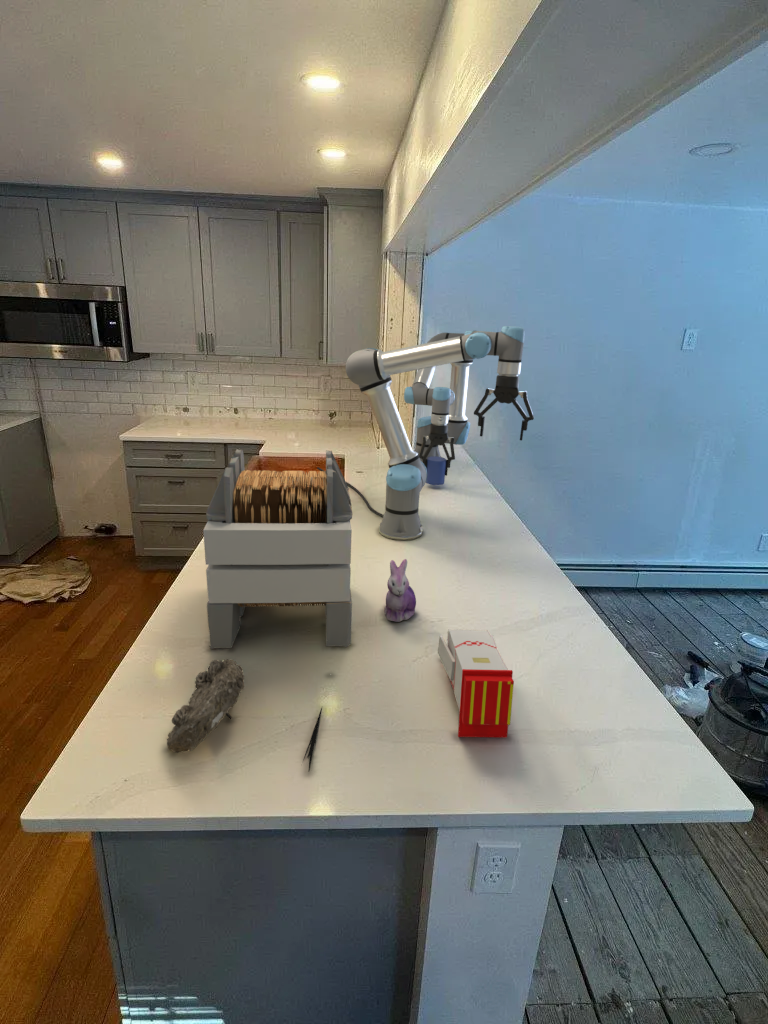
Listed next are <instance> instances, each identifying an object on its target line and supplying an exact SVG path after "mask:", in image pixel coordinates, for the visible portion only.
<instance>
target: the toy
mask: <svg viewBox="0 0 768 1024" xmlns="http://www.w3.org/2000/svg"><path fill="white" fill-rule="evenodd" d="M446 640H447V643H446V641H445V639H444V636H443V635H442V634H439V637H438V646H437V656H438V657H439V659H440V661H441V663H442V666H443V668H444V670H445V672H446V674H447V677H448V679H449V681H450V684H451V687H452V690H453V693H454V697H455V701H456V705H457V708H458V711H459V714H458V715H459V716H458V730H457V731H458V732H457V737H458V738H508V731H509V726H510V725H511V717H512V707H513V697H514V696H513V695H514V684H515V680H514V679H513V673H514V671H513V670H512V669H508V667H507V665H506V662H505V661H504V659H503V658H502V655H501V653H500V651H499V649H498V647H497V643H496V639H495V637H494V635H493V634H491V632H490V631H489V629H467V628H466V629H465V628H463V629H461V628H460V629H459V628H448V630H447V639H446Z"/></svg>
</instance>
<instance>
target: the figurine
mask: <svg viewBox="0 0 768 1024" xmlns="http://www.w3.org/2000/svg"><path fill="white" fill-rule="evenodd" d="M407 567H408V559H406V558H404V559H403V560H402V561H401V563H400V565H399V566H398V565H397V563H396V562H395V561H394V560H393V559H391V560H390V561H389V570H390V576H389V578H388V579H387V589H388V591H387V592H386V594H385V595H386V596H385V607H384V615H385V616H386V620H387V621H391V622H395V623H400V622H402V621H406V620H409V619H410V618H411V617H413V616H414V615H415V610H416V606H417V597H416V593H415V591H414V590H413V587H411V586H410V582H409V579H408V577H407V574H406V571H407Z"/></svg>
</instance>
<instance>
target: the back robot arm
mask: <svg viewBox="0 0 768 1024" xmlns="http://www.w3.org/2000/svg"><path fill="white" fill-rule="evenodd" d="M464 334H465V333H463V332H459V333H458V332H441V333H440V332H439V333H438V334H435V335H434V336H433V337H431V338H430V339H429V340H428V341H427V342H426V343H430V342H435V341H439V340H444V339H449V338H454V337H459V336H464ZM474 360H476V359H470V360H464V361H459V362H454V363H449V364H450V365H451V368H450V382H449V387H448V386H447V387H446V386H435V387H434V388H430V386H431V383H432V381H433V380H432V379H433V378H434V374H435V371H436V369H437V366H434V367H429V368H424V369H419V370H417V372H416V375H415V377H414V380H413V382H412V385H411V386H406V387H405V389H404V393H403V400H404V403H406V404H410V405H417V406H418V405H419V406H428V407H429V406H430V407H431V412H430V413H431V414H430V415H428V416H427V415H426V416H422V417H419V418H418V420H417V426H416V441H415V442H416V443H415V448H414V449H413V451H415V452H417V453H418V455H419V458H420V460H421V462H422V463H423V464H424V465H425V467H426V469H427V458H428V457H442V456H441V453H440V452H441V451H440V448H439V446H442V448H443V451H444V453H445V456H446V470H445V477H446V476H448V469H450V468H451V462H452V461H453V460H456V454H455V446H454V445H456V446H457V445H460V446H463V445H465V444H466V443H467V441H468V437H469V433H470V429H471V422H470V421H468V419H469V418H468V417H467V415H466V406H467V395H468V385H469V373H470V366H472V365H473V364H474ZM446 444H449V449H450V454H449V451H448V449H447V446H446Z"/></svg>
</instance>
